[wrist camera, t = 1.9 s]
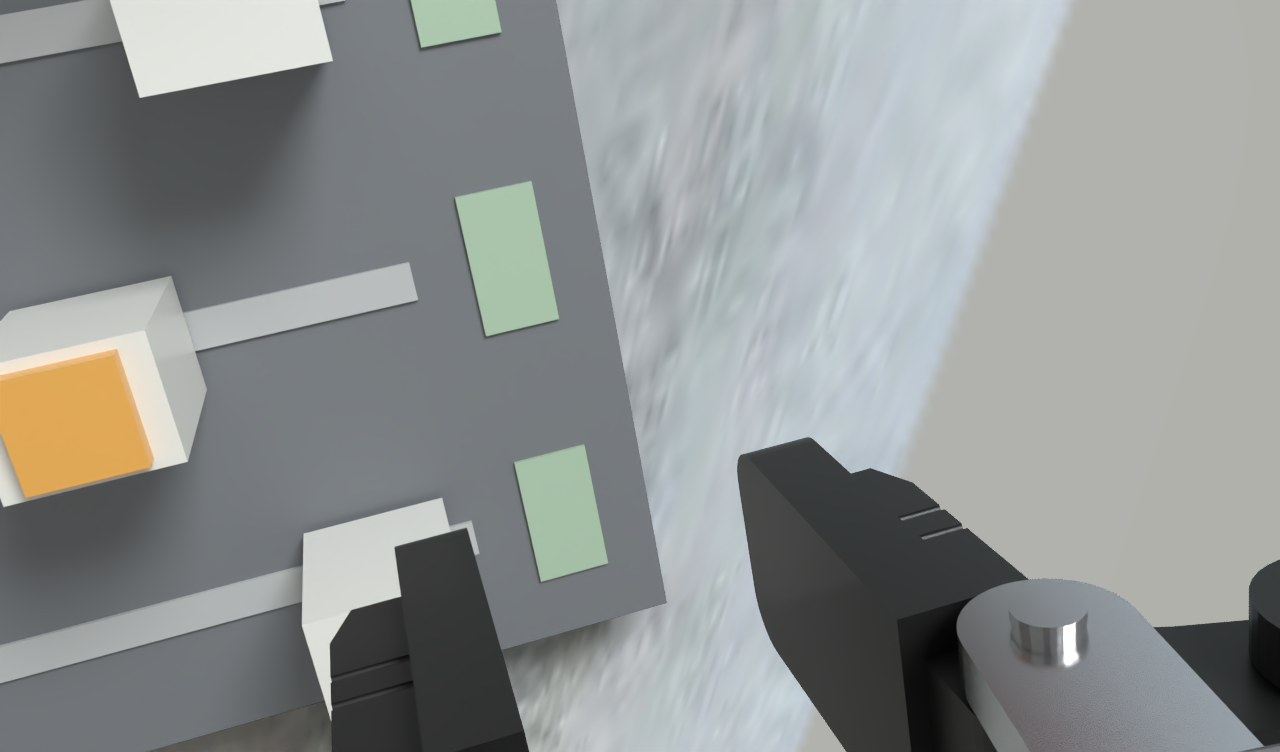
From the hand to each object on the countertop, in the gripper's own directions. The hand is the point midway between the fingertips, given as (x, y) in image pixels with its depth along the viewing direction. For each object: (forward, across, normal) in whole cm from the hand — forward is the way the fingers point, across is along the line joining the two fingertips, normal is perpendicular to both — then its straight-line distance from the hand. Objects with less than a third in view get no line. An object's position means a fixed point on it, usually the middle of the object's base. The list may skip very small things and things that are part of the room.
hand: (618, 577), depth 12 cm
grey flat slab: (+17, +7, 0) cm, 18 cm away
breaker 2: (+14, +3, +6) cm, 15 cm away
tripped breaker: (+14, +7, 0) cm, 16 cm away
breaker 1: (+14, +3, -6) cm, 15 cm away
